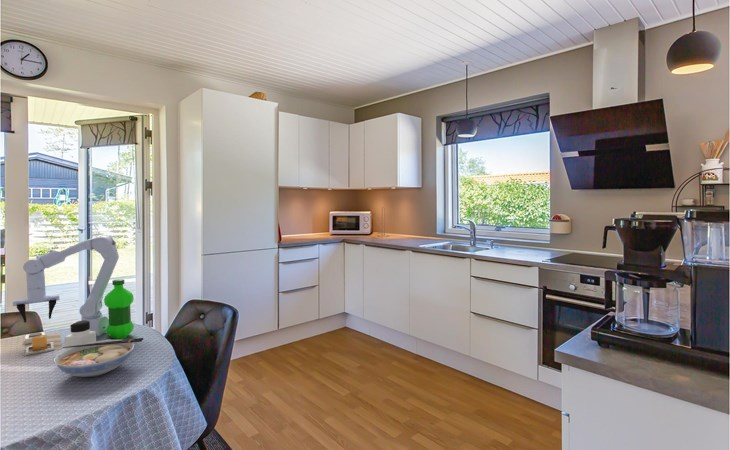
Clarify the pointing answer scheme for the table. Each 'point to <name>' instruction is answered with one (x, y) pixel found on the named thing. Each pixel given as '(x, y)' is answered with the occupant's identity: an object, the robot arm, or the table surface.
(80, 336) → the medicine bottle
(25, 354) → the grey square frame
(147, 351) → the table surface
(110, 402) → the table surface
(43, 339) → the cap
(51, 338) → the tan flat plate
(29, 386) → the table surface
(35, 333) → the button
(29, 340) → the frame
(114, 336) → the plastic bottle
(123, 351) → the ramen bowl
